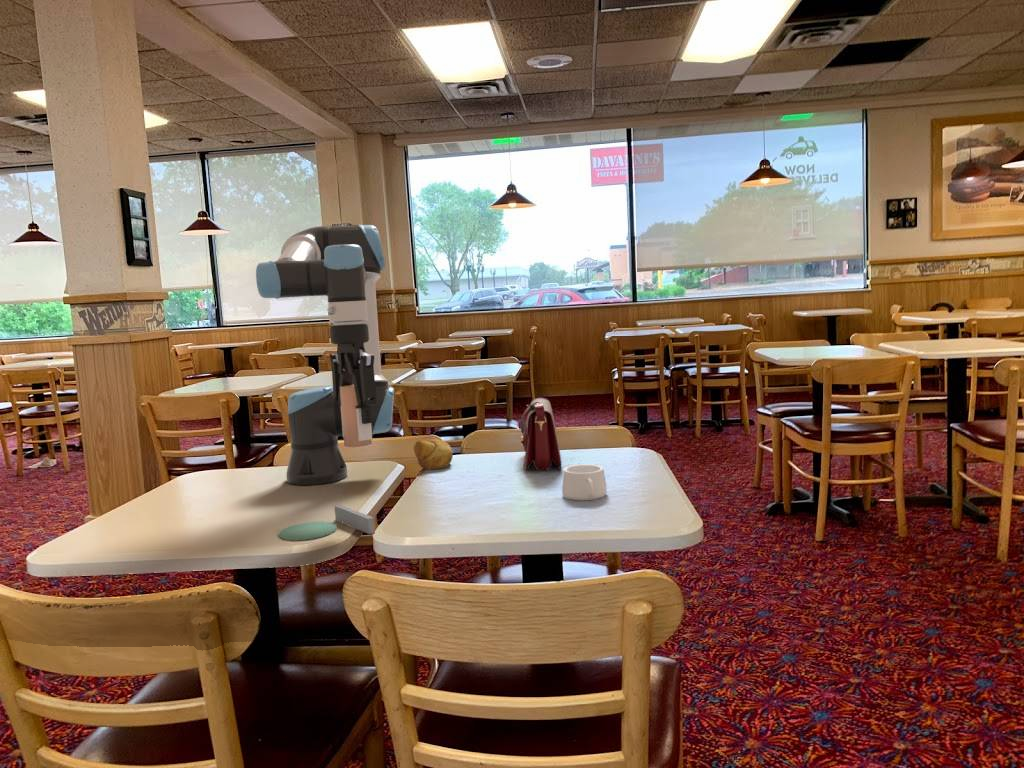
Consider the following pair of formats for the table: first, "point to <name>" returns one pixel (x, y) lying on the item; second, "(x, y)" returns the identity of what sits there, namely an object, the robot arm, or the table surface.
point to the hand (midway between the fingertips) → (357, 437)
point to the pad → (307, 530)
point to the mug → (584, 482)
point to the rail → (355, 519)
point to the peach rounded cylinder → (350, 417)
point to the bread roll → (433, 453)
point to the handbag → (540, 435)
